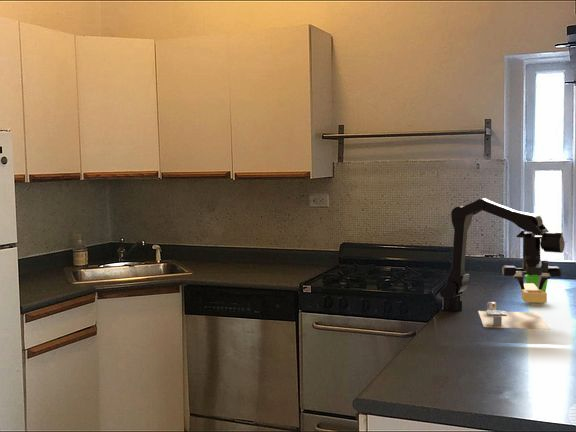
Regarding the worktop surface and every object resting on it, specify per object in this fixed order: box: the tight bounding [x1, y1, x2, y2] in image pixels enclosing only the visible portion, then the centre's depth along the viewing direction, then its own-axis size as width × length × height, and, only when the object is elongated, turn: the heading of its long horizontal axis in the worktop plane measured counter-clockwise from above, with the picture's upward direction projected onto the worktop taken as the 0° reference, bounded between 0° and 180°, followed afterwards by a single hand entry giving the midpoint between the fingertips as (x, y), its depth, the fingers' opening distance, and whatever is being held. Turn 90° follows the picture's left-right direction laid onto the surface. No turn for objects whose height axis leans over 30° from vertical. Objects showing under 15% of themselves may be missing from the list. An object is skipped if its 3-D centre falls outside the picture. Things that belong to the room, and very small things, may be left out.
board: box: [477, 310, 551, 330], centre depth 241 cm, size 21×25×1 cm
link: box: [520, 282, 548, 303], centre depth 239 cm, size 19×7×3 cm, turn 169°
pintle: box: [487, 301, 497, 310], centre depth 250 cm, size 3×3×4 cm
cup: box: [524, 274, 549, 304], centre depth 270 cm, size 9×9×11 cm
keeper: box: [485, 309, 507, 327], centre depth 234 cm, size 7×6×4 cm
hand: (530, 295), depth 240 cm, fingers closed on link, 4 cm apart
